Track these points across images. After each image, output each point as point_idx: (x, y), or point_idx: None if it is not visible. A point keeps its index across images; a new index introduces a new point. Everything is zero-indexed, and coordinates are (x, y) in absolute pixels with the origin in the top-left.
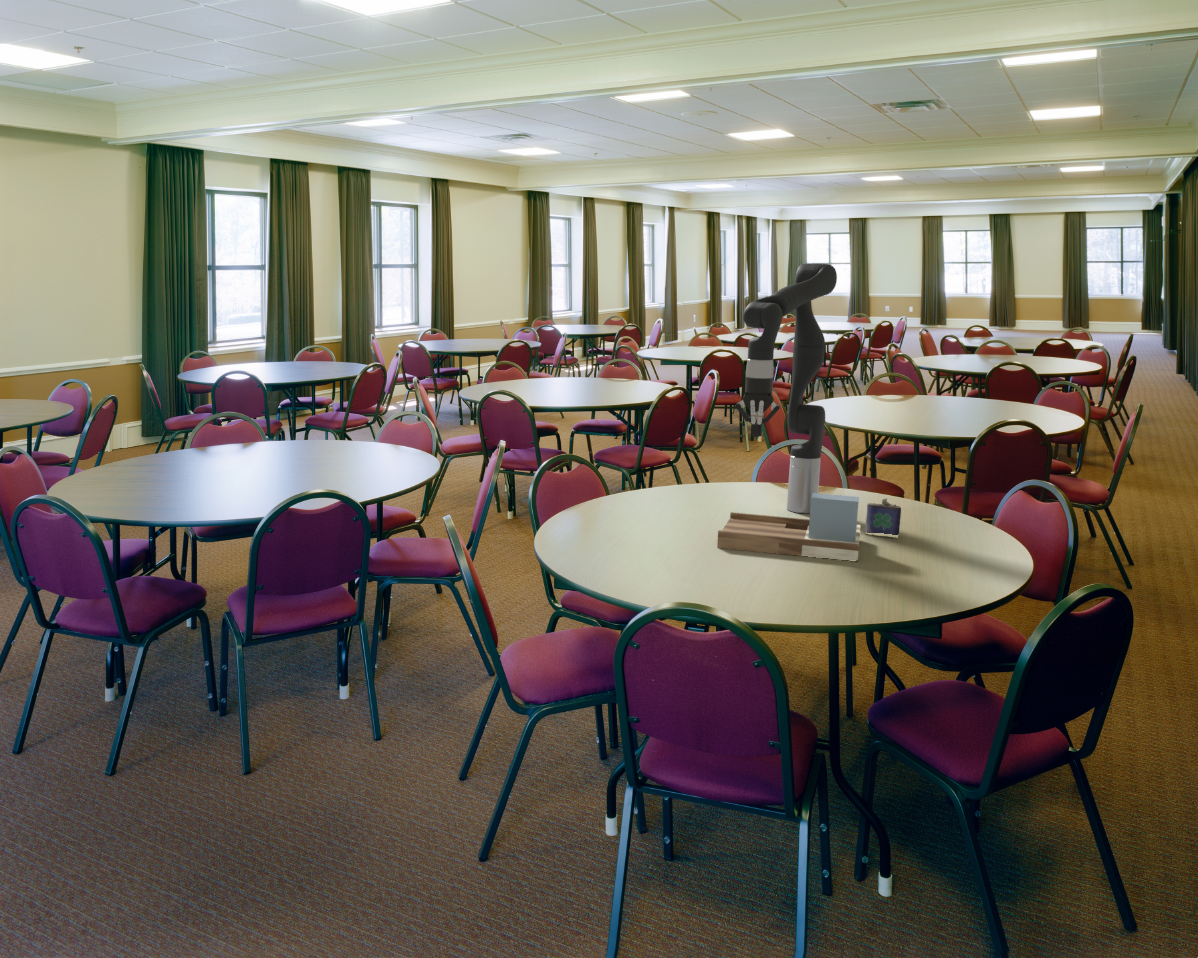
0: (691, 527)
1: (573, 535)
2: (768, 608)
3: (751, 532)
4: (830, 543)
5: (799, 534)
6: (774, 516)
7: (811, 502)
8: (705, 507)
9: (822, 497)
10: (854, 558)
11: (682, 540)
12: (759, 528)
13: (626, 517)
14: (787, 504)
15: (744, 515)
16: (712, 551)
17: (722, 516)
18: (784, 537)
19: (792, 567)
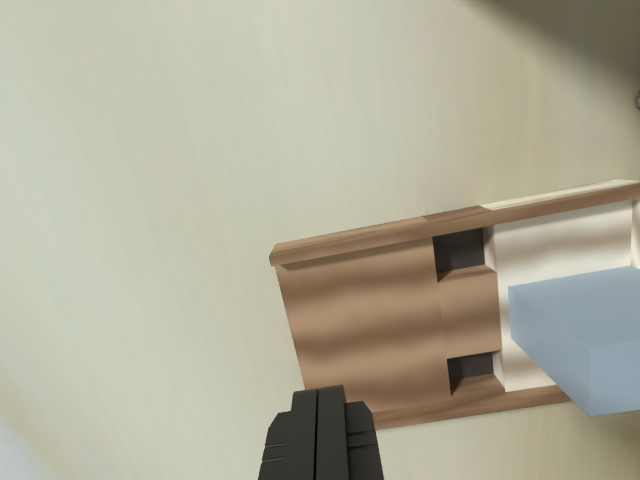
0: (195, 295)
1: (35, 469)
2: None
3: (371, 361)
4: None
5: (485, 320)
6: (397, 235)
7: (578, 404)
8: (112, 57)
9: (628, 395)
10: None
11: (231, 398)
12: (378, 319)
13: (16, 295)
14: None
15: (312, 257)
16: None
17: (209, 141)
18: (469, 413)
19: (487, 450)
